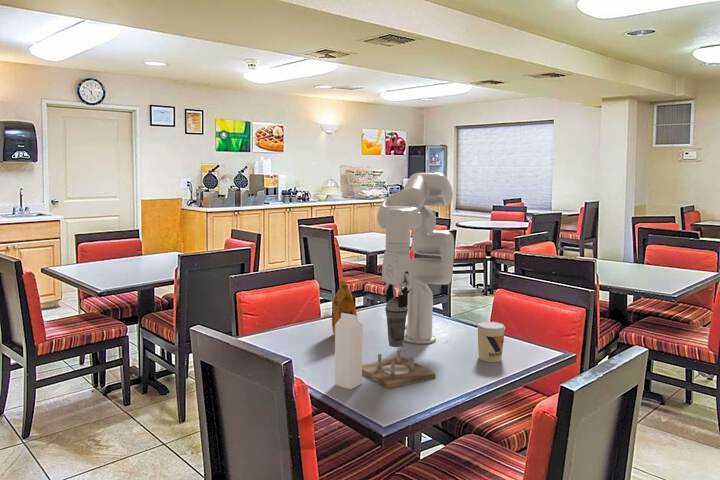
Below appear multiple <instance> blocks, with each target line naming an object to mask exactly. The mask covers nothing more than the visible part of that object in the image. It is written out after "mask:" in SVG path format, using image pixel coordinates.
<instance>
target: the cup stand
mask: <svg viewBox="0 0 720 480" xmlns="http://www.w3.org/2000/svg"><path fill="white" fill-rule="evenodd" d="M382 358H383V357H382V353H378V354H377V361H374V362H369V363H364V364H362V375H365V376H366V377H368V378H369V379H371V380H372V381H374V382H376V383H377V382H378V383H377V384H379V385H381V386H382V385H383V387H384V388H386V389H387V390H388V388H389V389H392V387H393V388H397V387H396V386H398V387H401V386H400V385H402V386H405V384H406V385H410V384H409V383H411V384H414V382H415V383H420V382H423V380H424V381H427V380H433V379H435V378H436V375H437V374H436V372H434V371H433V370H430V369H428V368H426V367H424V366H422V365H420V364H418V363H416V362H415V357H414V356H410V359H408V358H405V357H403V356H402V355H401V349H398V350H396V357H394V358H391V359H386V360H382Z"/></svg>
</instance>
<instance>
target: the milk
mask: <svg viewBox="0 0 720 480" xmlns="http://www.w3.org/2000/svg"><path fill="white" fill-rule="evenodd" d="M357 320H358V315H357V316H356V315H351V314H346V313H341V318H340V319H339V321H338V322H337V323H336V324H335V336H334V385H335V386H337V387H341V388H343V389H347V390H352V389H355V388H357V387H359V386H360V385H362V384H363V373H362V365H363V323H362V322H360V321H359V320H358V321H357Z"/></svg>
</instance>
